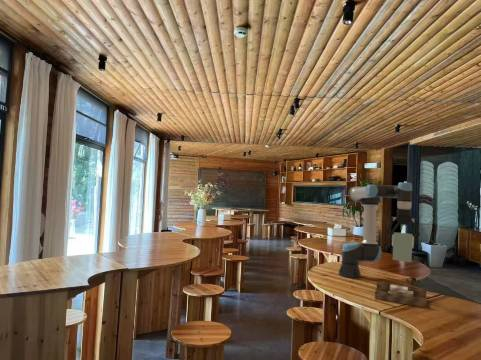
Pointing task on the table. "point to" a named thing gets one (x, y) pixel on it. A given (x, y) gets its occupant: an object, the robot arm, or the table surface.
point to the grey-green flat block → (402, 247)
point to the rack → (416, 300)
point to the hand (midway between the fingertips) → (402, 246)
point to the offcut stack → (400, 290)
